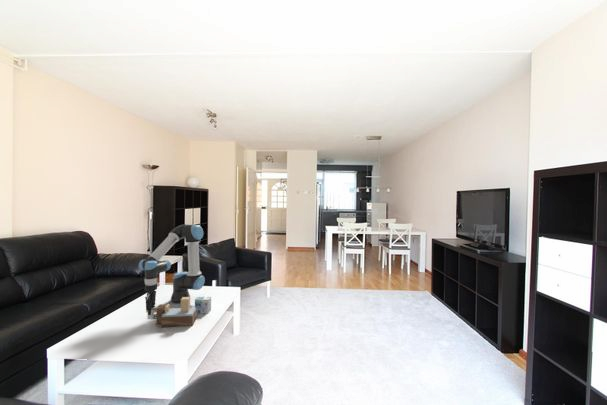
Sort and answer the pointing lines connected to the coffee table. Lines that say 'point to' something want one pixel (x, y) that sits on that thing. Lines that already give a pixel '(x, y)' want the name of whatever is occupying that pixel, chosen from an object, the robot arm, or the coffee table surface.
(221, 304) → the coffee table surface
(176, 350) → the coffee table surface
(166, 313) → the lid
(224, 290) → the coffee table surface
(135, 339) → the coffee table surface
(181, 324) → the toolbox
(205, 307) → the light bulb box
